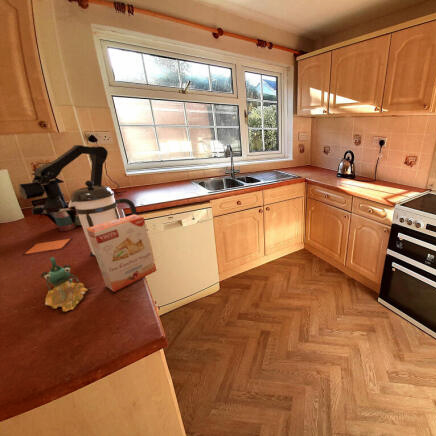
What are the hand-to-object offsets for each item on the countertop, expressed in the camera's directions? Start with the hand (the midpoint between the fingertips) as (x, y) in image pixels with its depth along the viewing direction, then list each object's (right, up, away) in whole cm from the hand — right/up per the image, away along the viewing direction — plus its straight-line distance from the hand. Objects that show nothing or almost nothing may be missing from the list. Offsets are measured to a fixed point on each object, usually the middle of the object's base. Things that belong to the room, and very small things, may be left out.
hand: (65, 223), depth 122 cm
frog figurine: (+45, -21, -48) cm, 69 cm away
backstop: (-1, -1, +5) cm, 5 cm away
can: (0, -3, +1) cm, 3 cm away
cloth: (+8, -10, -17) cm, 21 cm away
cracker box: (+60, -18, -40) cm, 74 cm away
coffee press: (+41, -11, -22) cm, 48 cm away
